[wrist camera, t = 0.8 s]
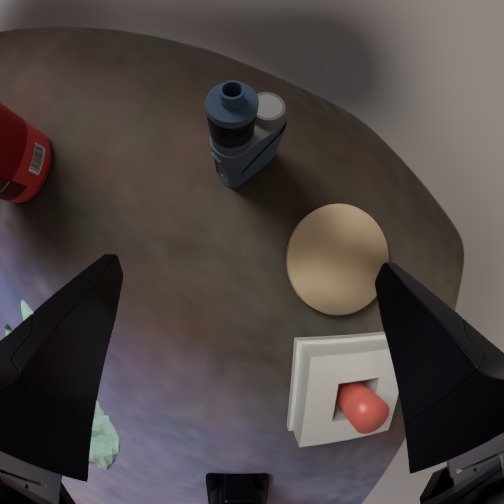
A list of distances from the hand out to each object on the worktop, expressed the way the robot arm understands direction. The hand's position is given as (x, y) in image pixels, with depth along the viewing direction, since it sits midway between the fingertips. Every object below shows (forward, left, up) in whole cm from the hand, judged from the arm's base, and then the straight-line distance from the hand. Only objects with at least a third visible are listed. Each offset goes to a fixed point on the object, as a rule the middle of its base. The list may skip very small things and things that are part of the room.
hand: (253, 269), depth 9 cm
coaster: (+1, -8, -13) cm, 15 cm away
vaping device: (+8, 0, -13) cm, 15 cm away
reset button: (-10, -9, -10) cm, 17 cm away
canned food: (+9, +23, -13) cm, 28 cm away
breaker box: (-10, -9, -13) cm, 19 cm away
